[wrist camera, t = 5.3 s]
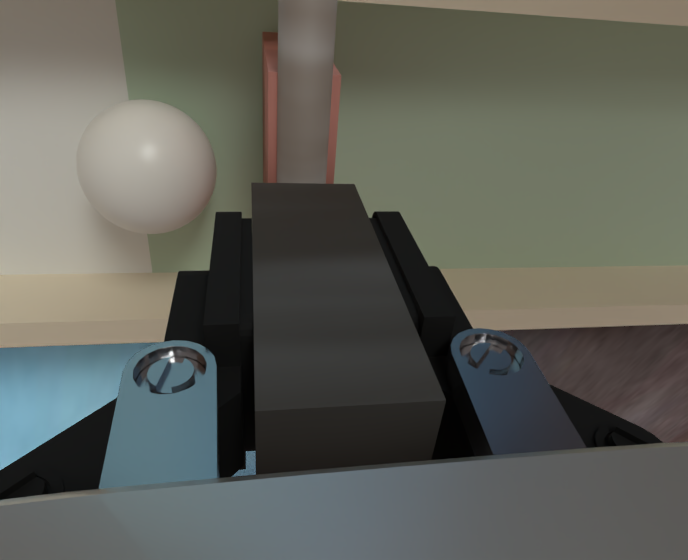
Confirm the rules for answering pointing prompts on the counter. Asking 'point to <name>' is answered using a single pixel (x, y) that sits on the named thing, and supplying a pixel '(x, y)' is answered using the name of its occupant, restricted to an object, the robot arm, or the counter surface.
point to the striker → (325, 282)
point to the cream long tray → (365, 152)
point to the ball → (146, 166)
